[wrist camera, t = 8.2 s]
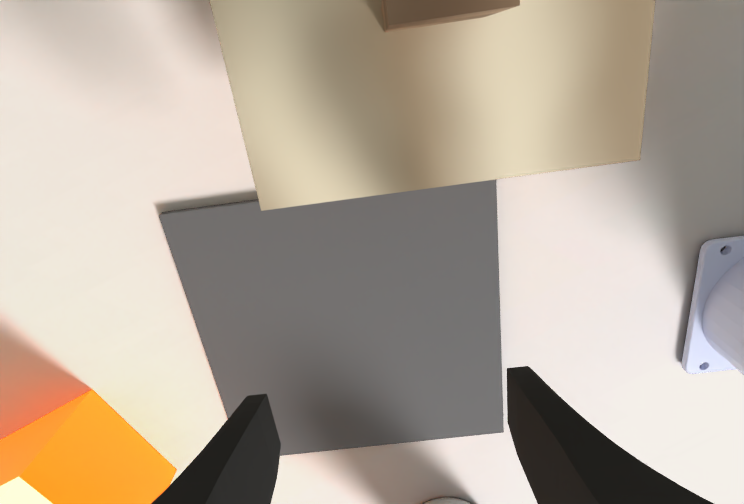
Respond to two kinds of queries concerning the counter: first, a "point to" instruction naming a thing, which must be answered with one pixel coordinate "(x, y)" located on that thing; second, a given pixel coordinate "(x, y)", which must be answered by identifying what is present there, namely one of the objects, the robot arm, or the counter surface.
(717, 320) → the robot arm
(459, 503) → the energy drink
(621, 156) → the lid
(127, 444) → the orange juice
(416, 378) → the mat
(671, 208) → the counter surface
